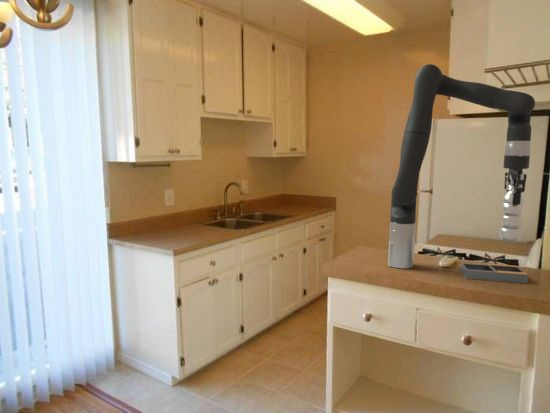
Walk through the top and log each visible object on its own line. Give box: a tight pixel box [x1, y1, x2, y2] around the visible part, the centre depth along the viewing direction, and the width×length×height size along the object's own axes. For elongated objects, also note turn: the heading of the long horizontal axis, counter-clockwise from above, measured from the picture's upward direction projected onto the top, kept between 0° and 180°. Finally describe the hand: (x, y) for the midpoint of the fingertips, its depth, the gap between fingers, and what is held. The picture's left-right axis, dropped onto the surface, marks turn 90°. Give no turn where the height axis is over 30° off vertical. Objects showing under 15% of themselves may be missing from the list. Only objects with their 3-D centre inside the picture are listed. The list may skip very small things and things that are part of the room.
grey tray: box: [459, 262, 529, 284], centre depth 141 cm, size 19×10×3 cm, turn 76°
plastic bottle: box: [498, 184, 525, 243], centre depth 137 cm, size 6×7×20 cm
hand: (512, 203), depth 137 cm, fingers closed on plastic bottle, 6 cm apart
